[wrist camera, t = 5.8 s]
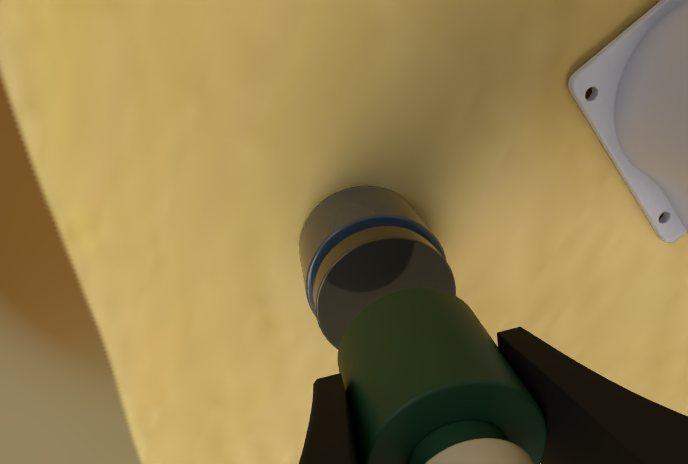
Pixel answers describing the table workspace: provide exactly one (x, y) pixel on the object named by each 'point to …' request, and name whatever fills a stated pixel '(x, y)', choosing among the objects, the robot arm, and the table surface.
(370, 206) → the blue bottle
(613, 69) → the robot arm
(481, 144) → the table surface
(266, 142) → the table surface
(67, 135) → the table surface
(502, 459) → the green bottle
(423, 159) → the table surface
